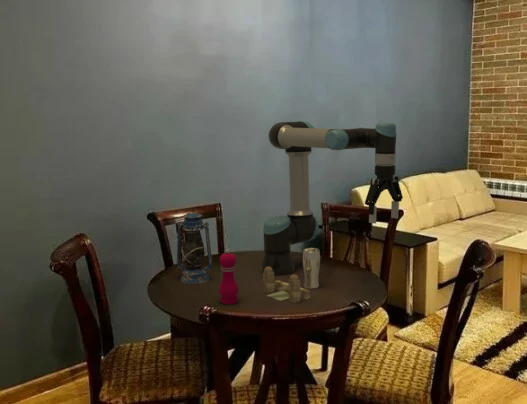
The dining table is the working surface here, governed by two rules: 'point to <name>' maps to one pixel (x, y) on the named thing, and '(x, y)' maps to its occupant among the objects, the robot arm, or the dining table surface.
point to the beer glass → (311, 267)
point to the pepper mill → (228, 279)
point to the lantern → (193, 249)
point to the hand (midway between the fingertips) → (383, 220)
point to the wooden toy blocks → (284, 287)
